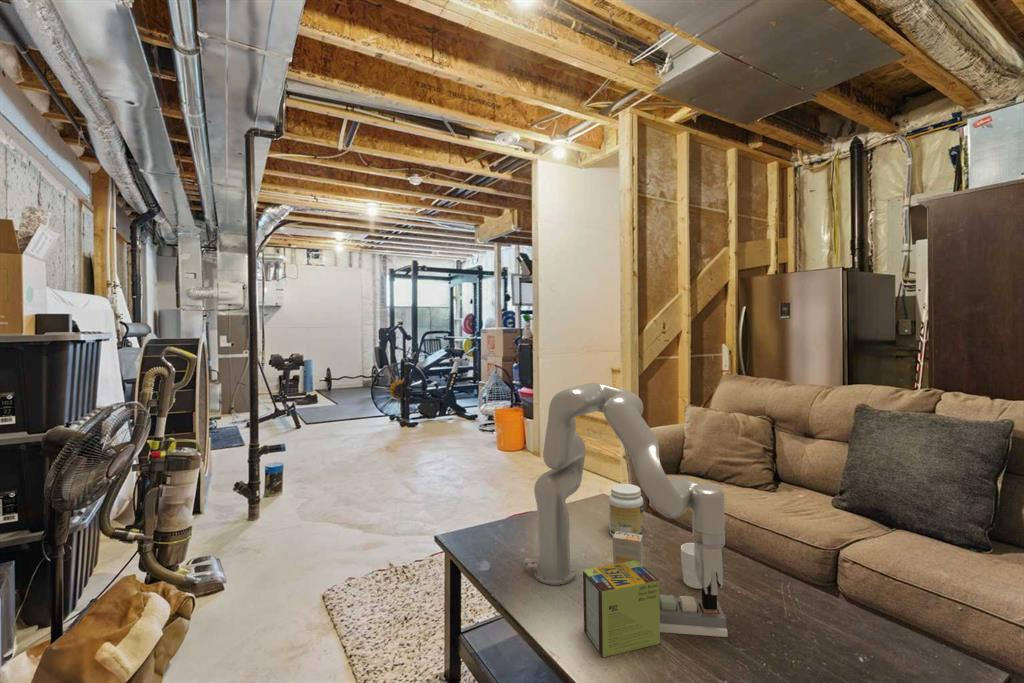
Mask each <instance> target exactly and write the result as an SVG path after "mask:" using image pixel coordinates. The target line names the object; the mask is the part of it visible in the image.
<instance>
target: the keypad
mask: <svg viewBox="0 0 1024 683" xmlns="http://www.w3.org/2000/svg"><path fill="white" fill-rule="evenodd" d="M674 599H675V602H676V611H666V610H661V606H660V633H664V634H665V633H667V634H681V635H692V636H693V635H694V636H695V635H696V636H707V637H708V636H709V637H721V638H728V631H729V630H728V629H727V617H726V616H725V613H724V612H723V610H722V607H721V605H720V604H719V601H718V600H717V611H718V614H712V613H702V611H701V609H700V603H702V598H694V599H695V601H696V604H697V612H682V610H681V607H680V597H674ZM659 602H660V596H659Z"/></svg>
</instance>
